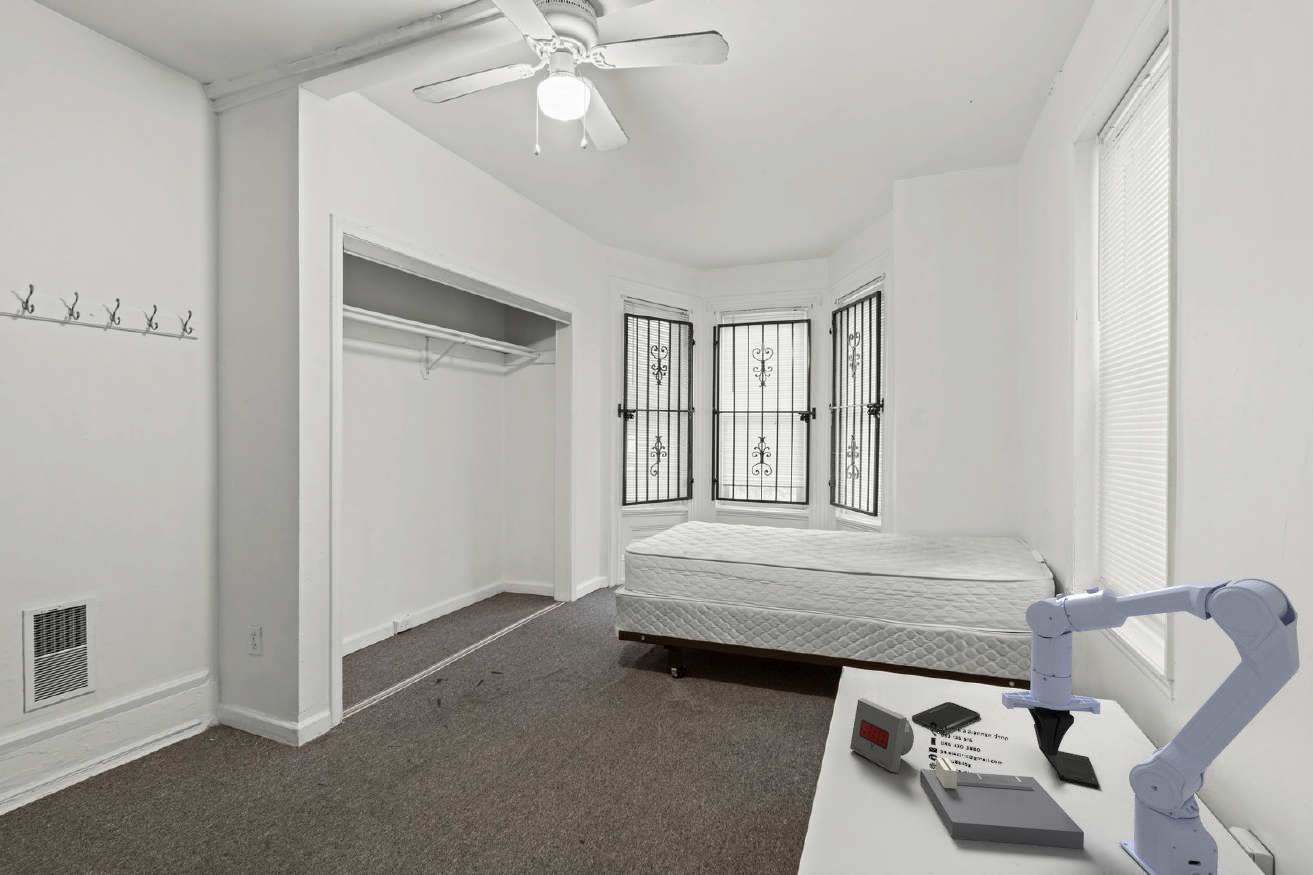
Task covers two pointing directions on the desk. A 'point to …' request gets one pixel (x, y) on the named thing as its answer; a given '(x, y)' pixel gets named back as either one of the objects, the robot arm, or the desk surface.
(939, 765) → the fader knob
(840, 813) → the desk surface
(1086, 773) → the handheld gaming console
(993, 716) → the desk surface
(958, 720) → the square ic package
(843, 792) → the desk surface
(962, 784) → the grey slotted plate
